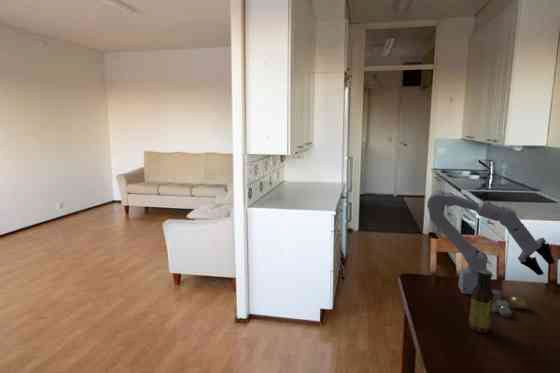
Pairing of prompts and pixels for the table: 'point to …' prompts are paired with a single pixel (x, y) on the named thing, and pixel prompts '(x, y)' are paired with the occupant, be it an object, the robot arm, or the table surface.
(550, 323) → the table surface
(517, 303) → the coupling
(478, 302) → the sauce bottle
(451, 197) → the robot arm
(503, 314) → the valve body
